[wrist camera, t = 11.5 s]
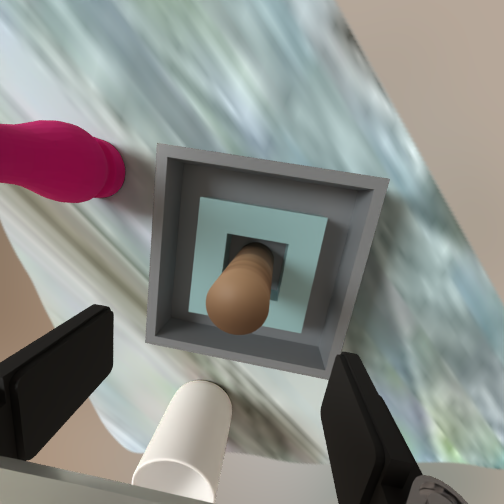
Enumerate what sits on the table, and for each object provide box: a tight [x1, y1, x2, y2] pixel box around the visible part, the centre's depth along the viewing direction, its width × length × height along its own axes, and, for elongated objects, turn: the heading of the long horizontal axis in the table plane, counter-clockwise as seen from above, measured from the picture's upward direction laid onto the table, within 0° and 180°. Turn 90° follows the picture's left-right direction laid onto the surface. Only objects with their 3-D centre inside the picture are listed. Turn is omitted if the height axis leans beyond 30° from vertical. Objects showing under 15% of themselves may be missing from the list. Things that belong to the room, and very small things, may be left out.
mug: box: [132, 380, 232, 504], centre depth 28 cm, size 12×8×10 cm
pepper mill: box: [0, 120, 125, 203], centre depth 17 cm, size 7×7×20 cm
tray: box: [145, 143, 390, 380], centre depth 25 cm, size 20×20×5 cm
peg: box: [206, 242, 274, 335], centre depth 21 cm, size 4×4×12 cm
